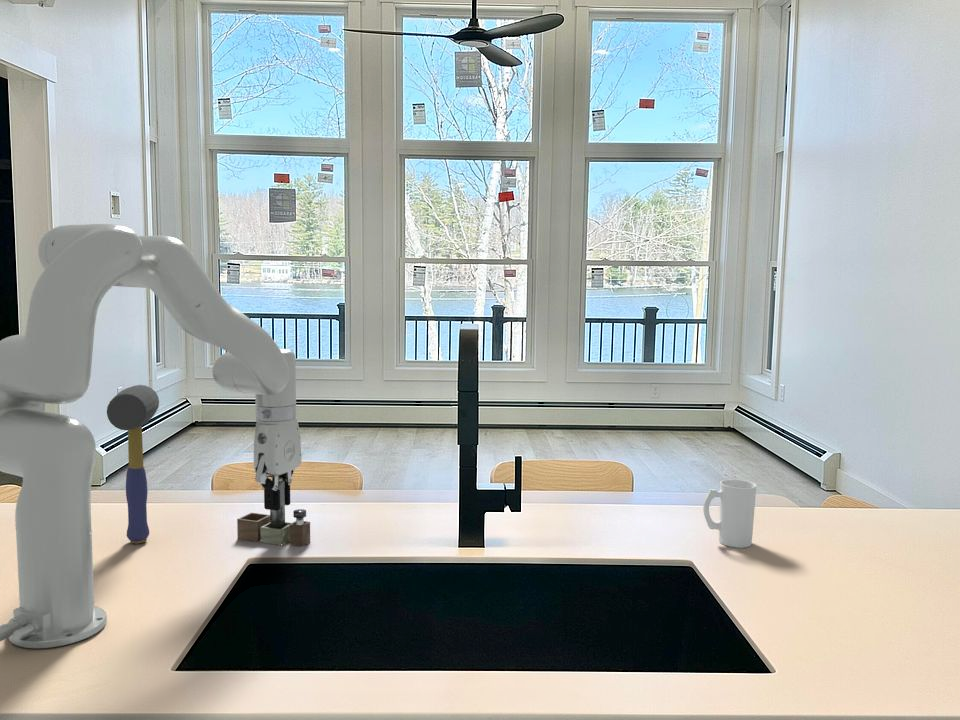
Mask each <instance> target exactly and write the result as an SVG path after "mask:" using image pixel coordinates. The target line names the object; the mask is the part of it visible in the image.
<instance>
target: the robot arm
mask: <svg viewBox="0 0 960 720" xmlns="http://www.w3.org/2000/svg"><path fill="white" fill-rule="evenodd" d="M37 251H38V258H39V261H40V264H41V265H42V267H43V269H44V270H43V272H42V273H41V275H40V276H39V277H38V279H37V281H36V282H35V285H34V288H33V289H32V292H31V297H30V300H29V301H30V302H29V305H28V306H29V308H28V313H27V319H26V327H25V328H26V329H25V334H23V333H22V334H15V335H11V336H7V337H5V338H2V339H1V340H0V472H1V473H5V474H8V475H13V476H17V477H21V478H22V485H21V488H20V491H19V494H18V496H17V500H16V505H15V511H14V512H15V513H14V517H15V518H14V519H15V520H14V521H15V523H14V524H15V525H14V526H15V534H16V535H15V537H16V557H17V574H18V575H17V576H18V594H19V595H18V596H19V598H18V600H19V607H17V608H14V609H13V612H12V613H13V615H12V616H13V617H12V618H10V619H9V620H8V622H7V623H5V624H4V623H3V624H1V625H0V642H2V641H4V640H6V639H8V640H9V641H10V643H12V644H14V646H18V647H20V648H25V649H49V648H57V647H62V646H63V647H64V646H66V645H71V644H74V643H77V642H80V641H84V640H86V639H87V638H90V637H92V636H94V635H95V634H98V632H100V631H101V630H102V629H103V628H105V626H106V624H107V620H108V618H107V617H108V615H107V612H106V611H105V609H103V608H102V607H100V606H96V605H95V589H94V588H95V585H94V563H93V561H94V559H93V558H94V557H93V556H94V555H93V536H92V535H93V534H92V533H93V531H92V513H91V511H92V509H91V508H92V505H91V491H92V481H93V473H94V467H95V462H96V455H97V454H96V453H97V447H96V445H97V444H96V440H95V438H94V437H95V436H94V435H93V433H92V432H91V430H90V428H88V426H87V425H85V424H84V423H83V422H81V421H80V420H78V419H76V418H74V417H72V416H69V415H65V414H60V413H55V412H48V411H45V410H46V404H51V405H65V404H66V405H67V404H71V403H74V402H77V401H78V400H79V399H81V398H82V397H83V396H84V395H85V394H86V392H87V391H88V388H89V386H90V382H91V381H90V380H91V376H92V375H91V374H92V363H93V353H94V351H93V350H94V340H95V339H94V338H95V327H96V320H97V314H98V309H99V306H100V304H101V302H102V300H103V298H104V297H105V295H106V294H107V293H108V292H109V290H111V289H112V288H113V287H121V288H123V287H124V288H125V287H126V288H143V289H145V288H146V289H147V288H148V289H149V290H151V291H152V292H153V294H154V295H155V296H156V297H157V299H158V300H159V301H160V302H161V304H162V305H163V306H164V308H165V309H166V310H167V312H169V314H170V316H171V317H172V318H173V319H174V320H175V322H176V323H177V325H178V326H179V327H180V329H181V330H182V331H184V332H185V333H186V334H189V335H190V336H192V337H193V338H195V339H198V340H200V341H202V342H205V343H207V344H210V345H211V346H212V345H213V346H215V347H217V348H220V349H221V350H224V351H226V352H224V353H223V354H221V355H220V356H218V357H217V359H216V360H215V361H214V363H213V366H212V377H213V380H214V382H215V383H216V384H217V385H218V387H220V388H222V389H224V390H225V391H229V392H234V393H243V394H253V395H254V394H255V422H256V423H255V429H254V436H253V438H254V439H253V469H254V472H255V477H254V481H255V482H256V483H258V484H260V485H261V487H262V490H263V498H264V499H263V503H264V509H265V510H269V511H270V510H276V511H278V510H280V490H278V477H282V480H284V481H285V506H289V505H291V484H292V481H293V480H292V479H293V478H292V476H293V475H294V471H295V470H296V469H297V468H299V467H300V466H301V464H302V444H301V443H302V442H301V432H300V427H299V422H298V417H297V394H296V393H297V385H296V384H297V382H296V381H297V379H296V378H297V377H296V372H297V371H296V369H297V368H296V354H295V352H293V351H292V350H291V349H289V348H279V346H278V344H277V343H276V342H275V340H274V339H273V338H272V336H271V335H270V334H269V333H268V332H267V331H266V330H265V328H263V327H262V326H260V325H259V324H258V323H257V322H255V320H253V319H251V318H249V316H247V315H246V314H244V313H243V312H242V311H241V310H239V309H237V308H236V307H234V306H233V305H232V304H229V303H228V302H227V301H226V300H225V298H224V297H223V296H222V295H221V293H220V292H219V290H218V289H217V287H216V286H215V285H214V283H213V281H212V280H211V279H210V278H209V276H208V275H207V273H206V272H205V270H204V268H203V266H201V264H200V263H199V261H198V260H197V258H196V257H195V256H194V255H193V253H192V251H191V250H190V249H189V248H188V246H187V245H186V244H185V242H182V241H181V240H180V239H178V238H176V237H174V236H170V235H169V236H168V235H138V234H137V233H136V232H135V231H134V230H133V229H132V228H128V227H127V226H124V225H119V224H113V223H89V224H64V225H59V226H55V227H54V228H51V229H49V230H48V231H46V233H45V234H43V236H42V238H41V239H40V242H39V243H38V250H37Z"/></svg>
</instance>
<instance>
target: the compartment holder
mask: <svg viewBox="0 0 960 720" xmlns="http://www.w3.org/2000/svg"><path fill="white" fill-rule="evenodd" d="M236 521H237V522H236V523H237V525H236V526H237V527H236V528H237V529H236V530H237V540H241V541H247V540H250V541H249V542H254V541H256V543H259V542H260V543H261V542H265V543H264V544H269V543H272V544H271V545H276V544H280V545H279V546H282V545H281V544H283V545H285V544H286V543H288V542H289V545H290V544H291V545H290V546H296V545H300V546H299V547H304V546H306V545H307V543H308V544H309V543H310V542H311V521H307V520H306V521H305V520H304V525H296V520H295V521H293V522H291V521H290V522H289V521H285V527H284V528H282V529H275V528H270V514H267V513H264V514H263V513H258V512H250V513H247V514H245V515H243V516H241V517H238V518H237V519H236ZM260 540H261V541H260ZM289 540H290V541H289ZM258 541H259V542H258ZM287 541H288V542H287ZM284 543H285V544H284ZM305 544H306V545H305Z"/></svg>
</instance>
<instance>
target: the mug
mask: <svg viewBox="0 0 960 720" xmlns="http://www.w3.org/2000/svg"><path fill="white" fill-rule="evenodd" d="M719 484H720V486H719V490H717V489H716V488H715V489H713V488H709V490H708V493H707V494H706V497H705V499H704V502H703V515H704V518H705V522H706V524H707V527H708V528H709V530H716V531H717V530H718V542H719V543H720V544H721V545H723V546H726V547H730V548H737V549H743V548H744V549H745V548H749V547H751V545H752V542H753V533H754V532H753V531H754V522H755V521H754V520H755V506H756V495H757V484H756V483H755V482H751V481H748V480H743V479H732V478H731V479H730V478H729V479H724V480H720V482H719ZM715 498H719V506H718V507H719V510H718V513H719V514H718V516H719V519H718V521H714V520H712V517H711V515H710V506H711V505H710V504H711V501H712V500H714V499H715Z"/></svg>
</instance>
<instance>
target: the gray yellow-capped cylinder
mask: <svg viewBox="0 0 960 720" xmlns="http://www.w3.org/2000/svg"><path fill="white" fill-rule="evenodd" d="M278 490H280V510H278V511H276V510H269V515H270V528H275V529H282V528H284V527H285V522H286V505H285V481H284V480H282V477H278Z"/></svg>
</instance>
